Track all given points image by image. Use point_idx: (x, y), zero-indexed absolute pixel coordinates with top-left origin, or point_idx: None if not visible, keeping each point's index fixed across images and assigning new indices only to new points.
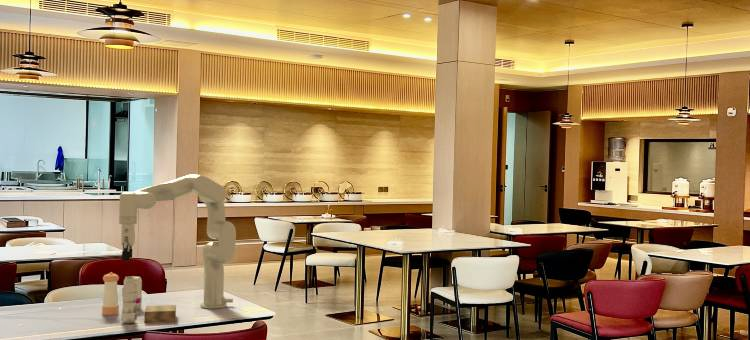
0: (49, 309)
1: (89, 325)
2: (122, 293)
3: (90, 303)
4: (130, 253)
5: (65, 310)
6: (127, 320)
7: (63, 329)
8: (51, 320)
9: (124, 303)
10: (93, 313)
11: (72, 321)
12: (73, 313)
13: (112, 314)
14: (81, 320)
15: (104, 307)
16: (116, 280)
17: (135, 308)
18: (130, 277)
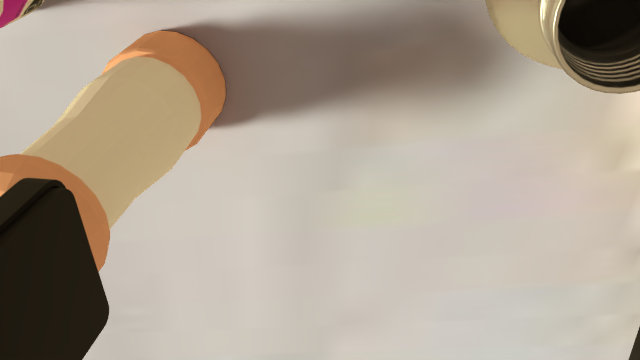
0: (107, 355)
1: (533, 171)
2: (605, 42)
3: None
4: (12, 281)
5: (118, 301)
6: None
7: (607, 287)
8: (355, 341)
9: None
10: (179, 176)
11: (394, 260)
12: (186, 266)
13: (218, 66)
14: (372, 221)
15: (200, 138)
16: (61, 168)
17: None
18: (557, 13)
